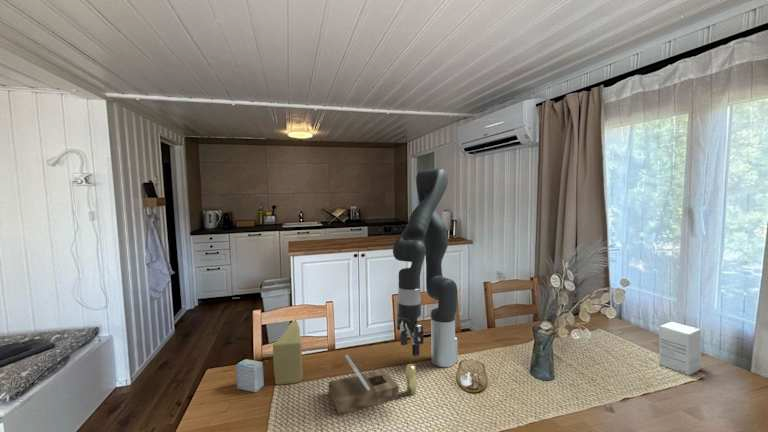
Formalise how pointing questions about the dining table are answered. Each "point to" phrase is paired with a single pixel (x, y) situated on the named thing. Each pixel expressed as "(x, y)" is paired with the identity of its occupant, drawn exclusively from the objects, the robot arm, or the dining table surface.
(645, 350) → the dining table surface
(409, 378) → the brass peg
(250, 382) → the medicine box
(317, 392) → the dining table surface
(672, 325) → the supplement box
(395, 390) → the walnut block
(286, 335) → the cheese
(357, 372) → the steel flap
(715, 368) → the dining table surface
